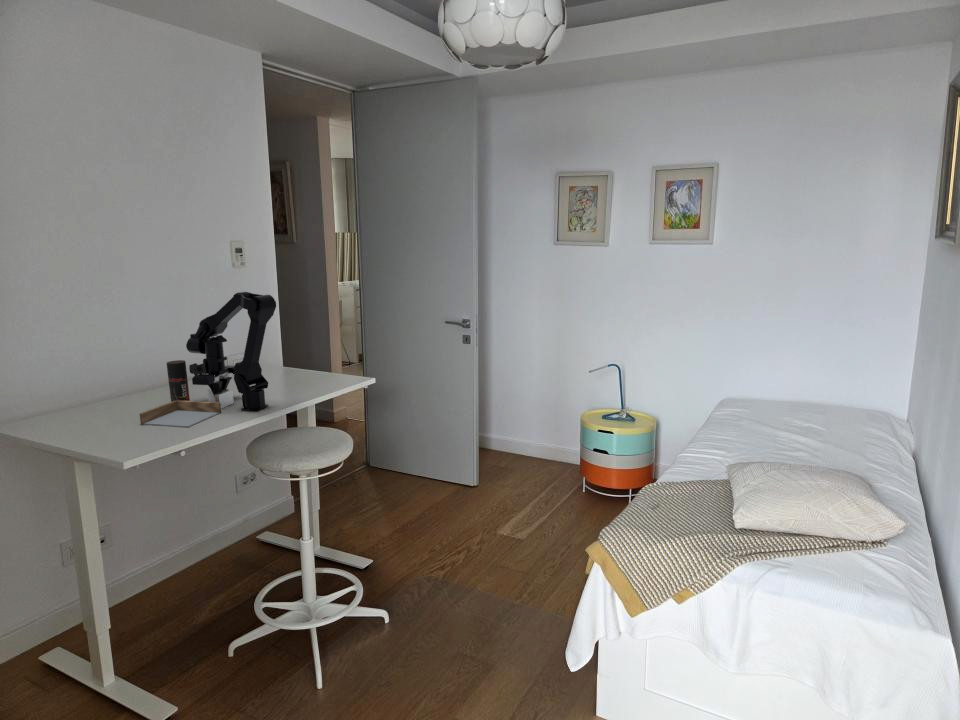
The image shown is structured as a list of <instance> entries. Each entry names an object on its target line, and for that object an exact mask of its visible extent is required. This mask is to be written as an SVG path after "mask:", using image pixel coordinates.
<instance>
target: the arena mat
mask: <svg viewBox="0 0 960 720" xmlns="http://www.w3.org/2000/svg"><path fill="white" fill-rule="evenodd" d="M217 415H219V413H217V412H199V411H181V410H177V411H174V412H172V413H169V414H166V415H164V416H161V417H159V418H156V419H154V420H151V421H149V422H146V423H144V426H158V427H159V426H161V427H175V428H177V427H179V428H190V427H192V426H195V425H197V424H199V423H202V422H204V421H207V420H208V419H211V418H213V417H215V416H217Z"/></svg>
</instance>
